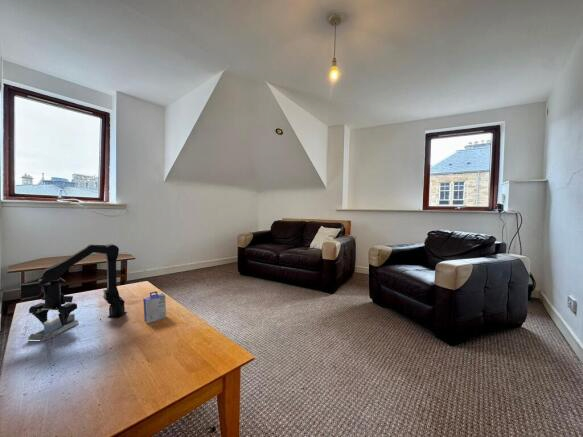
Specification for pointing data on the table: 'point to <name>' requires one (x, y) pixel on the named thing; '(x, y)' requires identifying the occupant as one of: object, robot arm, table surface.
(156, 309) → the ink cartridge box
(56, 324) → the block
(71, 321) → the din rail
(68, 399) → the table surface
